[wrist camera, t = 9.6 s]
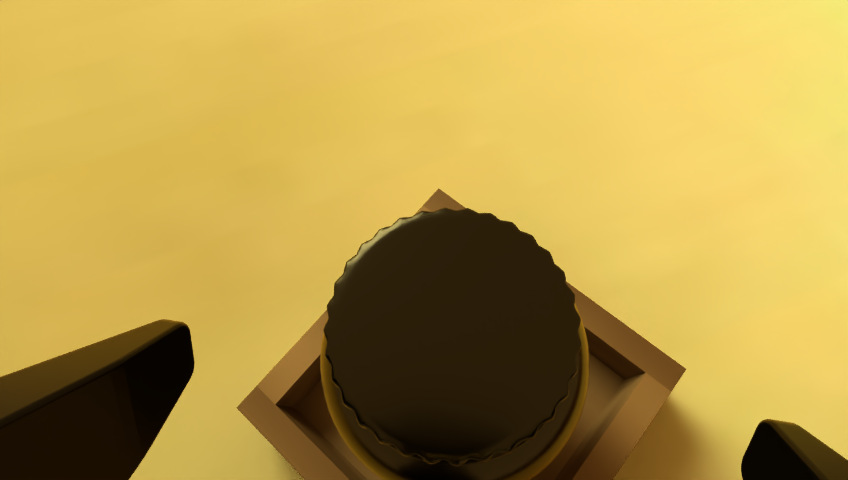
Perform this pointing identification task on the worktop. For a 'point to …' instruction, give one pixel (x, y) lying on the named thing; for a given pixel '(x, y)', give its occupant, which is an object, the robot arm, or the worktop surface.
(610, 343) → the walnut tray
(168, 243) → the worktop surface
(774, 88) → the worktop surface
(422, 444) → the supplement bottle
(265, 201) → the worktop surface
